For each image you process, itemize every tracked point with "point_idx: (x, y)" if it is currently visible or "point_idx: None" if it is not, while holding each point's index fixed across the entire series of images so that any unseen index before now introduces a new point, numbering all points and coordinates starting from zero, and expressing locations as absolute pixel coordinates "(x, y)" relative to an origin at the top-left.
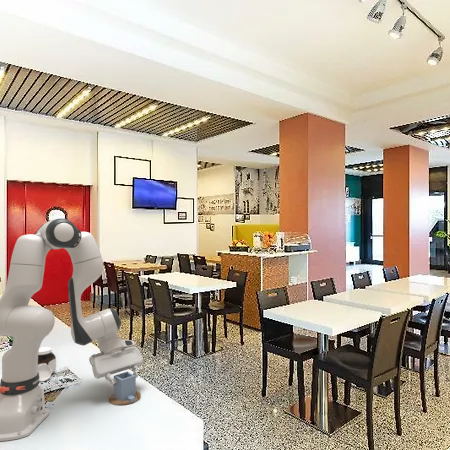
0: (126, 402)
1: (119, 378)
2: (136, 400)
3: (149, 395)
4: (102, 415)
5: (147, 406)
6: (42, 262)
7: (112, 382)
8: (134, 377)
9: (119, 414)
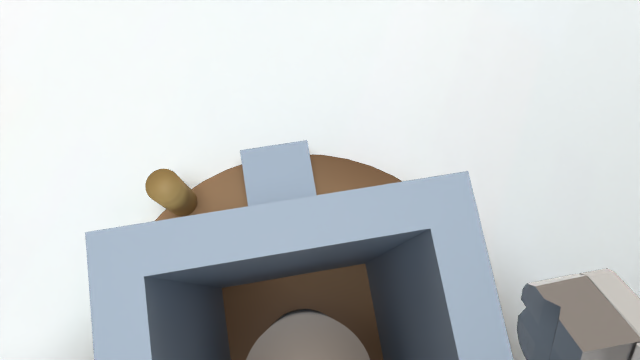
0: (347, 178)
1: (480, 306)
2: (227, 170)
3: (29, 233)
4: (627, 99)
5: (185, 8)
6: None
7: (626, 292)
8: (130, 229)
9: (478, 22)
